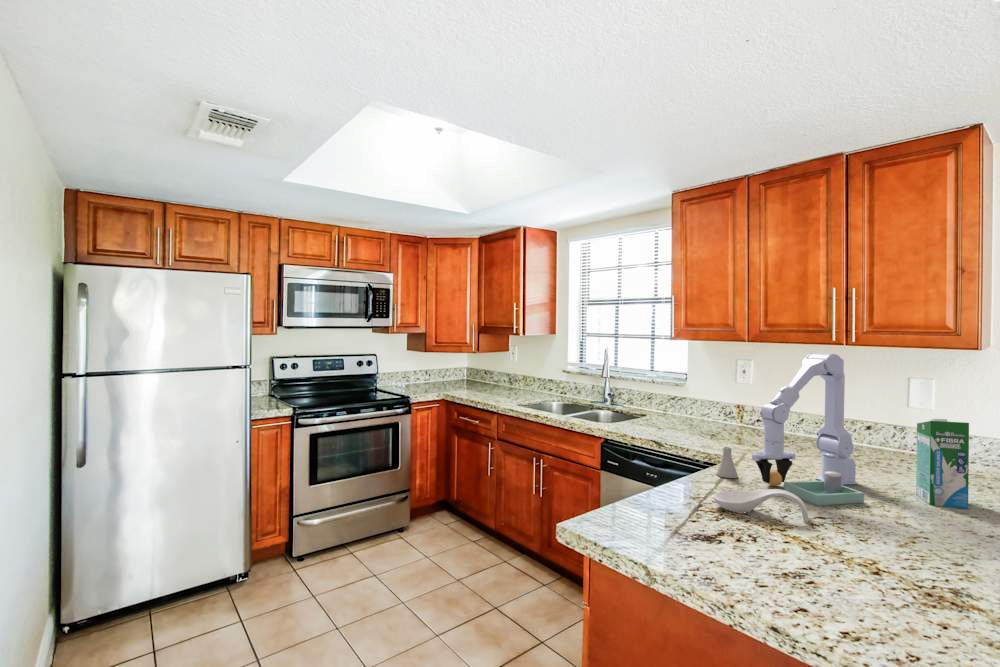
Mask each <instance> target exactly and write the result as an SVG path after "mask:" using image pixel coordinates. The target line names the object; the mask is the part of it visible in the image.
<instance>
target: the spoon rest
mask: <svg viewBox="0 0 1000 667" xmlns="http://www.w3.org/2000/svg"><path fill="white" fill-rule="evenodd" d="M712 496H713V500H714V501H715V503H716V504H718V506H720V507H721V508H723V509H724V510H726V511H728V510H729V512H731V511H733V512H732V513H735V512H742V513H741V514H745V513H744V512H748V513H750V512H751V511H753V510H754V509H756V508H757V507H759V505H761V504H762V503H764V502H765V501H767V500H769V499H771V498H774V497H785V498H787V499H789V500H792V501H793V502H794V503H795V504H796V505H798V507H799V508H800V510H801V514H802V519H803V521H804V523H809V521H810V520H809V513H808V509H807V506H806V504H805V503H804V502H805V501H804V500H802V499H800V498H799V497H798V496H796V495H794V494H793V493H790V492H788V491H785V490H784V489H779V488H772V489H771V488H769V489H762V490H761V489H760V490H722V491H718V492H715V493H714V494H713V495H712Z"/></svg>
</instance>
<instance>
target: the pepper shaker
mask: <svg viewBox="0 0 1000 667" xmlns="http://www.w3.org/2000/svg"><path fill="white" fill-rule="evenodd" d="M833 493H842V491H841V474H840V473H838V472H833V471H825V475H824V494H833Z"/></svg>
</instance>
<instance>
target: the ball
mask: <svg viewBox="0 0 1000 667" xmlns="http://www.w3.org/2000/svg"><path fill="white" fill-rule="evenodd" d="M782 483H783V482H782V476H781V475H780V473H778V472H777V470H770V481H769V483H767V484H768V485H769V486H771V487H779V486H780V485H782Z"/></svg>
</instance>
